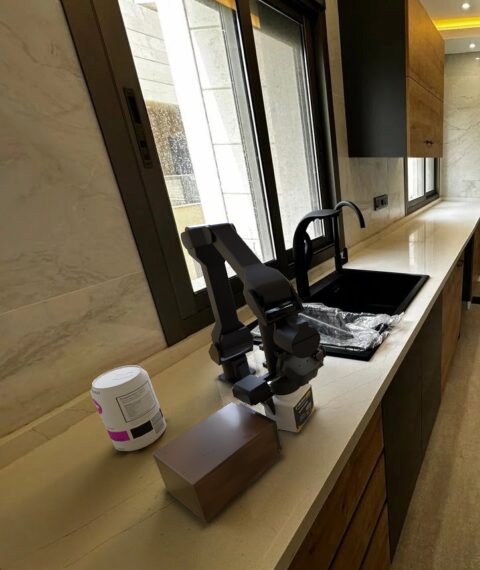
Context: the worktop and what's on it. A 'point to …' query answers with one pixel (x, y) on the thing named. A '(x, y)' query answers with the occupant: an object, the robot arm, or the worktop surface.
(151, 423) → the supplement can
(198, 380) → the worktop surface
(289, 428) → the medicine bottle
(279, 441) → the drawer
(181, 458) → the cabinet
